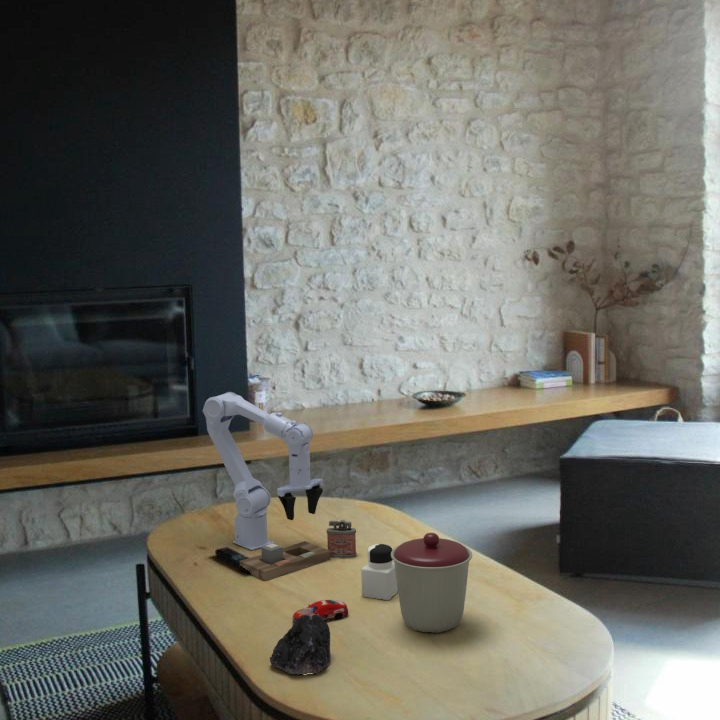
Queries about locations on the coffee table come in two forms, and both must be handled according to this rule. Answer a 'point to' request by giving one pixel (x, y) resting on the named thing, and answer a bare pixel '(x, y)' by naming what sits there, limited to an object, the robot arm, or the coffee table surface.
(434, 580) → the canister
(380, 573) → the medicine bottle
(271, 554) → the plug
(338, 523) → the lighter
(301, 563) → the socket board
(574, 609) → the coffee table surface
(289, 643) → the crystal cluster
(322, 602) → the race car
